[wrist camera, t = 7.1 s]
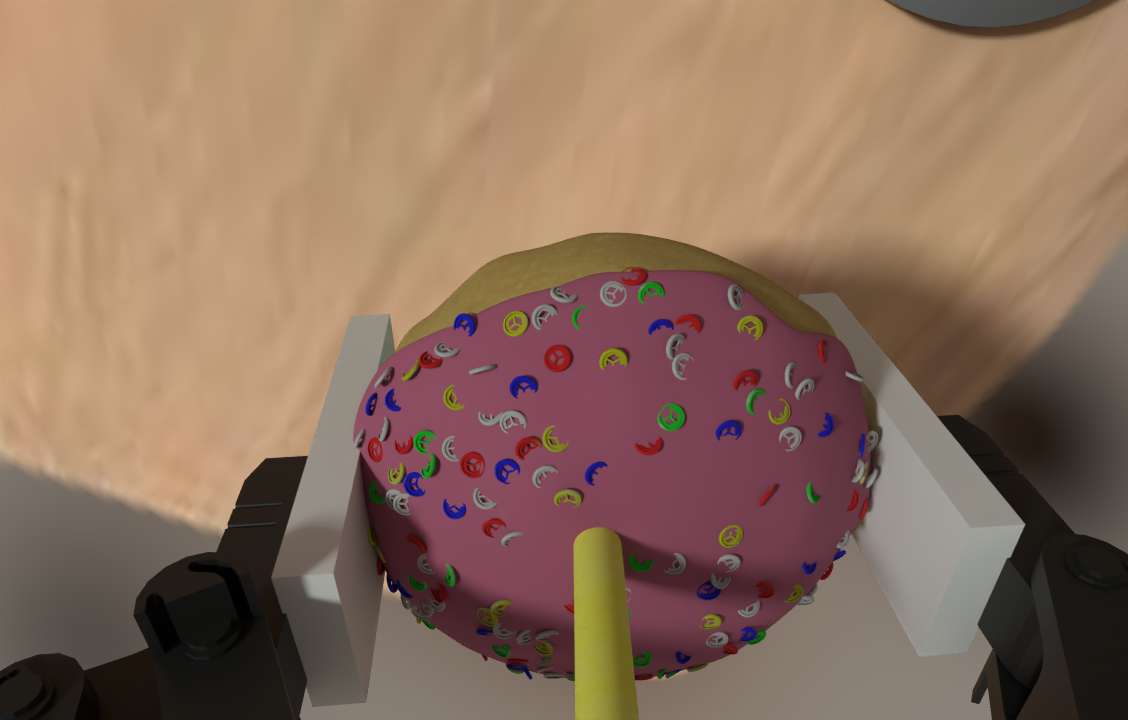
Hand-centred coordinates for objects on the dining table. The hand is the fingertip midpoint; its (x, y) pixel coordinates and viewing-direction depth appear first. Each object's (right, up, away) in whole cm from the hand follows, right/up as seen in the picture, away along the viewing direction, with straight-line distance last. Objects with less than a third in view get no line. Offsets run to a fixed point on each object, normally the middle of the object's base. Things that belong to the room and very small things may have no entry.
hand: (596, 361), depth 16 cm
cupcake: (0, +1, +1) cm, 1 cm away
